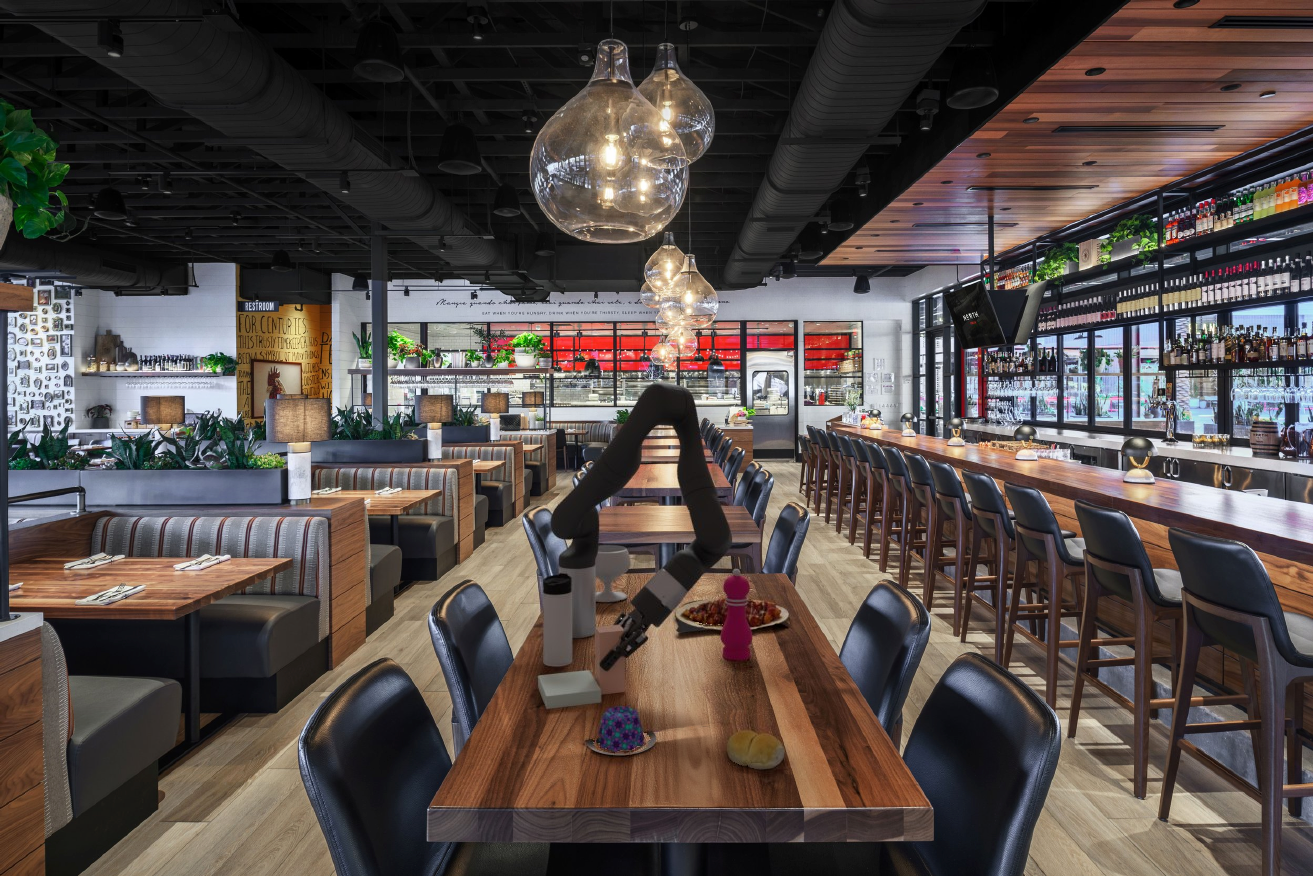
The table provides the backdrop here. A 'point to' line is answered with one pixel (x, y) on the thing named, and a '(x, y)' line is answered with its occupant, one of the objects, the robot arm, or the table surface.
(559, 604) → the travel mug
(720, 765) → the table surface
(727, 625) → the pepper mill
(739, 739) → the bread roll
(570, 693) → the ticket board
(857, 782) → the table surface
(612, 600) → the chalice
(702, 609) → the plate of glazed chicken
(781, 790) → the table surface
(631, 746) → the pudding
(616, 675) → the stub
